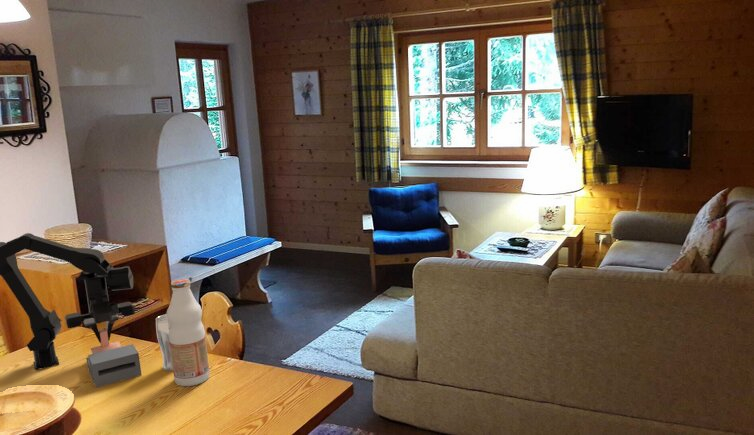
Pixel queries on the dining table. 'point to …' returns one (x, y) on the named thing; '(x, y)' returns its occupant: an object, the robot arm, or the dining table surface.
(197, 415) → the dining table surface
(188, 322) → the fruit juice
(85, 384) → the dining table surface
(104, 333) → the pink t-shaped block
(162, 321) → the beer glass
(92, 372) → the grey slotted box
